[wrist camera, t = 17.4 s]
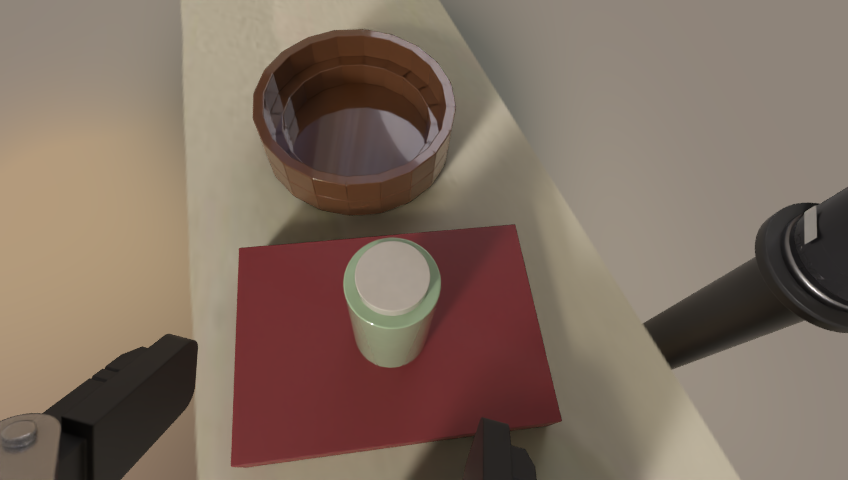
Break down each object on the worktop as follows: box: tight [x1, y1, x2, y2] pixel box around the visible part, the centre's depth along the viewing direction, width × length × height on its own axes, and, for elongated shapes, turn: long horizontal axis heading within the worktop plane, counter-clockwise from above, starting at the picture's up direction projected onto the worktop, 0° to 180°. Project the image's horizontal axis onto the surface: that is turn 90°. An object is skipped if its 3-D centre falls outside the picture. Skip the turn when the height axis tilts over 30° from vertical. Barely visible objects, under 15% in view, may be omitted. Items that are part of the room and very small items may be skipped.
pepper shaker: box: [343, 238, 441, 368], centre depth 27 cm, size 5×5×10 cm
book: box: [231, 225, 562, 468], centre depth 33 cm, size 20×14×3 cm
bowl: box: [253, 29, 456, 216], centre depth 40 cm, size 16×16×5 cm
